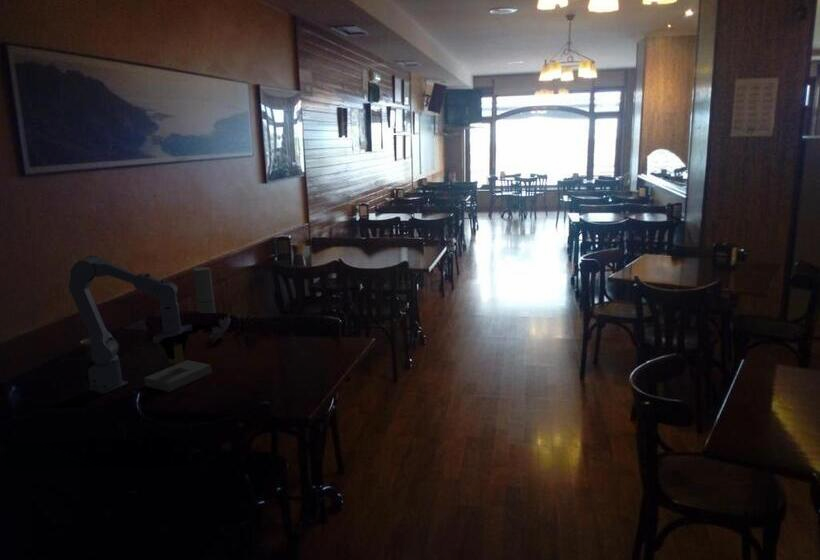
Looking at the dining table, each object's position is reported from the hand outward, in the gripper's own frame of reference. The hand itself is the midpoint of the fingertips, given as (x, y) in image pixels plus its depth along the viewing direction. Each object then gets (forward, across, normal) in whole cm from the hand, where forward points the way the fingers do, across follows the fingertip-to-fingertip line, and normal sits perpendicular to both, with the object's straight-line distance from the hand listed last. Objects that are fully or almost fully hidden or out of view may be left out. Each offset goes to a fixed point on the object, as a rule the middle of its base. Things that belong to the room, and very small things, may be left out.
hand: (176, 356), depth 211 cm
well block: (+8, 0, 0) cm, 8 cm away
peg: (+2, 0, 0) cm, 2 cm away
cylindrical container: (+8, +51, +42) cm, 67 cm away
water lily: (+9, +38, +20) cm, 43 cm away
